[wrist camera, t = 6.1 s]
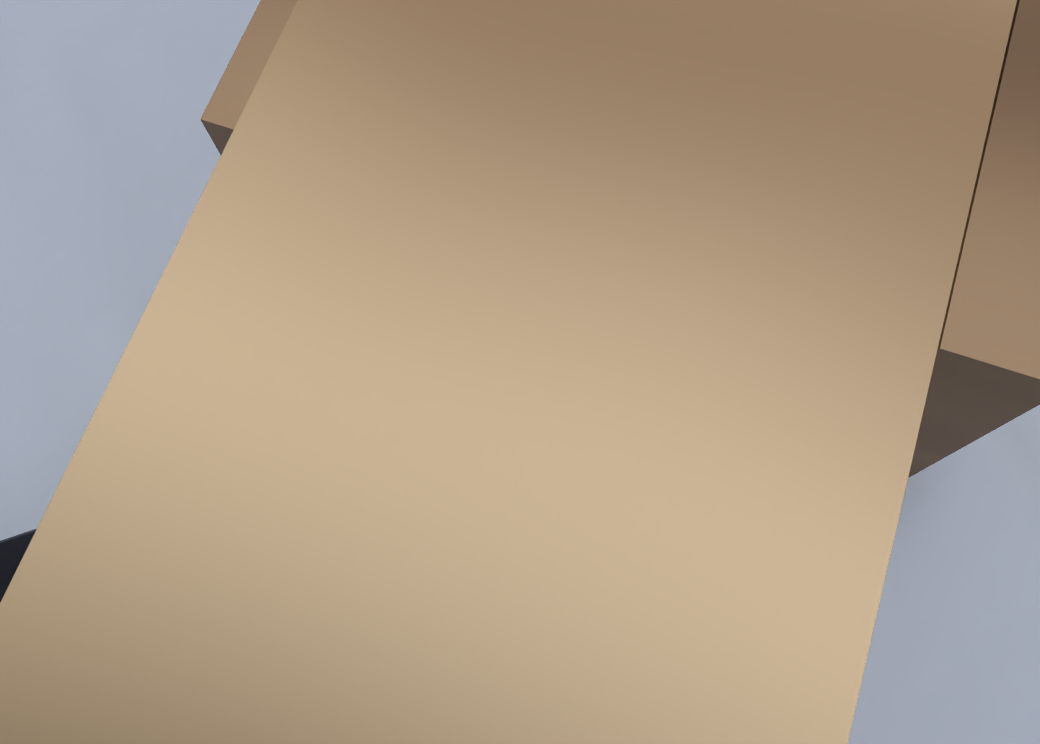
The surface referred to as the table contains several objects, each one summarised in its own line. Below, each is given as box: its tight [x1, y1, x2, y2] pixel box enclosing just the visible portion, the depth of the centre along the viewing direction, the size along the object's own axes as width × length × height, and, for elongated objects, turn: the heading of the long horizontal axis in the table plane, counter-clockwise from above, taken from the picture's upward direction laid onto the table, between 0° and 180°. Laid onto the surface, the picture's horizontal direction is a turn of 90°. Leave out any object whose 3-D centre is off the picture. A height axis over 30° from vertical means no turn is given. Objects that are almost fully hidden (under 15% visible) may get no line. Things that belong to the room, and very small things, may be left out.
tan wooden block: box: [0, 0, 1017, 744], centre depth 10 cm, size 12×4×10 cm, turn 161°
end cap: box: [201, 0, 1040, 477], centre depth 13 cm, size 7×9×6 cm
